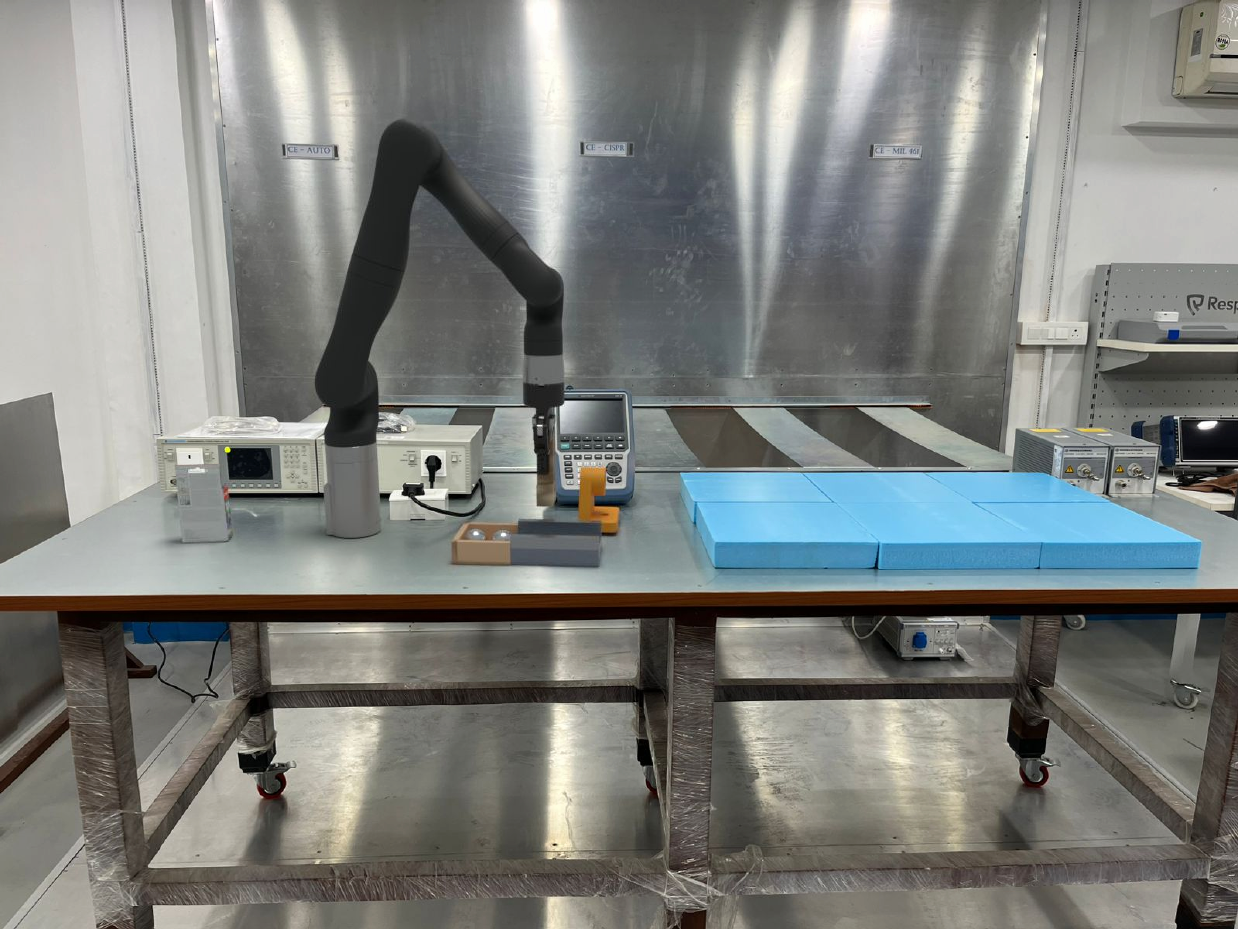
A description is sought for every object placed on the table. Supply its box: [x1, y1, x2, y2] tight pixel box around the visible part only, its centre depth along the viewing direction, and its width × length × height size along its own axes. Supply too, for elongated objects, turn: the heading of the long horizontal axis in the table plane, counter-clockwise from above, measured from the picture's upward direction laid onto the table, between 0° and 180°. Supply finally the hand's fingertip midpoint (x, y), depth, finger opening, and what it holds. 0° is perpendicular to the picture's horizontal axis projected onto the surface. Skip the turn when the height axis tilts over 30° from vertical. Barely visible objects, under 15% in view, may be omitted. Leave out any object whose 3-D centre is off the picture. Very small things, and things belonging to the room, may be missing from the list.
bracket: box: [577, 466, 620, 533], centre depth 164 cm, size 11×7×12 cm, turn 177°
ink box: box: [174, 463, 234, 544], centre depth 152 cm, size 4×8×15 cm, turn 100°
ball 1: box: [464, 529, 487, 541], centre depth 148 cm, size 4×4×4 cm
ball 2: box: [492, 530, 512, 541], centre depth 148 cm, size 4×4×4 cm
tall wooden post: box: [535, 427, 557, 508], centre depth 156 cm, size 3×6×14 cm, turn 178°
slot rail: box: [510, 518, 603, 568], centre depth 148 cm, size 15×10×5 cm
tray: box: [450, 521, 518, 566], centre depth 148 cm, size 10×11×4 cm
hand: (544, 471), depth 156 cm, fingers closed on tall wooden post, 3 cm apart
